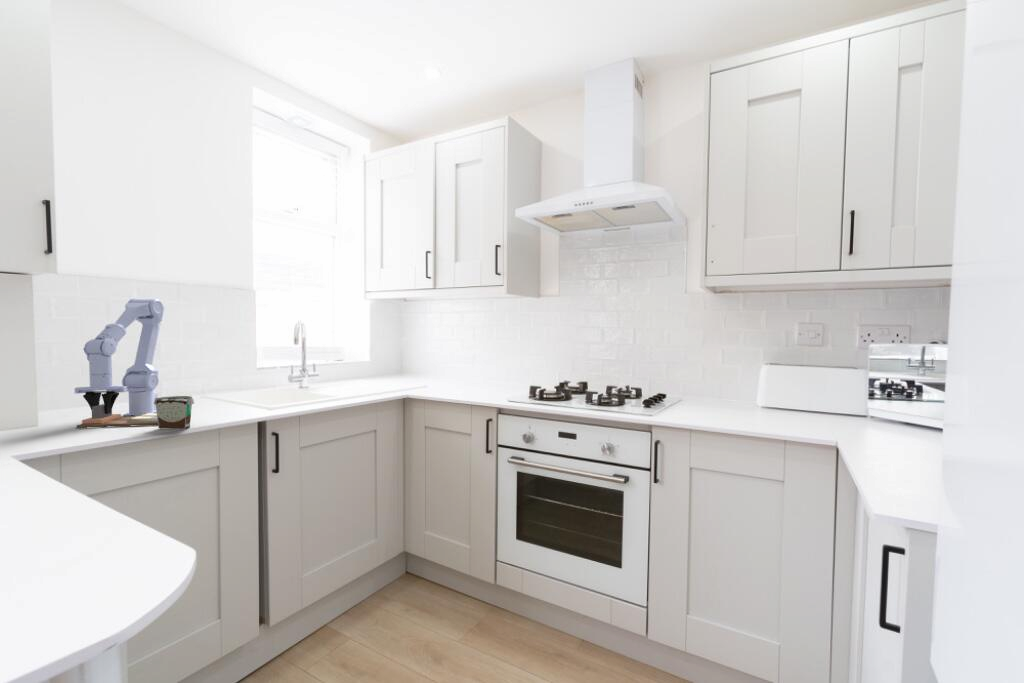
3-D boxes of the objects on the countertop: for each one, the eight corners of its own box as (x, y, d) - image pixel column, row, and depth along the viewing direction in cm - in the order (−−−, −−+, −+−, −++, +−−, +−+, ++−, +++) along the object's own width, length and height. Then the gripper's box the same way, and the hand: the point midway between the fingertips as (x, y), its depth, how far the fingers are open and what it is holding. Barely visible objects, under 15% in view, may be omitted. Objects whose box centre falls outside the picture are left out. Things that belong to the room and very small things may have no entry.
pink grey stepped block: (102, 417, 162) (102, 403, 162) (120, 417, 163) (120, 402, 163) (82, 423, 152) (81, 408, 152) (101, 423, 153) (101, 407, 153)
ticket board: (105, 419, 164) (105, 413, 164) (183, 417, 169) (183, 411, 169) (76, 428, 150) (76, 421, 150) (162, 425, 155) (162, 418, 155)
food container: (204, 425, 155) (203, 396, 154) (189, 429, 149) (188, 398, 148) (170, 424, 156) (169, 395, 156) (154, 428, 150) (153, 398, 150)
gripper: (67, 375, 152) (68, 416, 152) (117, 375, 155) (118, 415, 155) (82, 373, 159) (83, 412, 159) (130, 372, 161) (131, 411, 162)
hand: (101, 413), depth 158 cm, fingers closed on pink grey stepped block, 3 cm apart
